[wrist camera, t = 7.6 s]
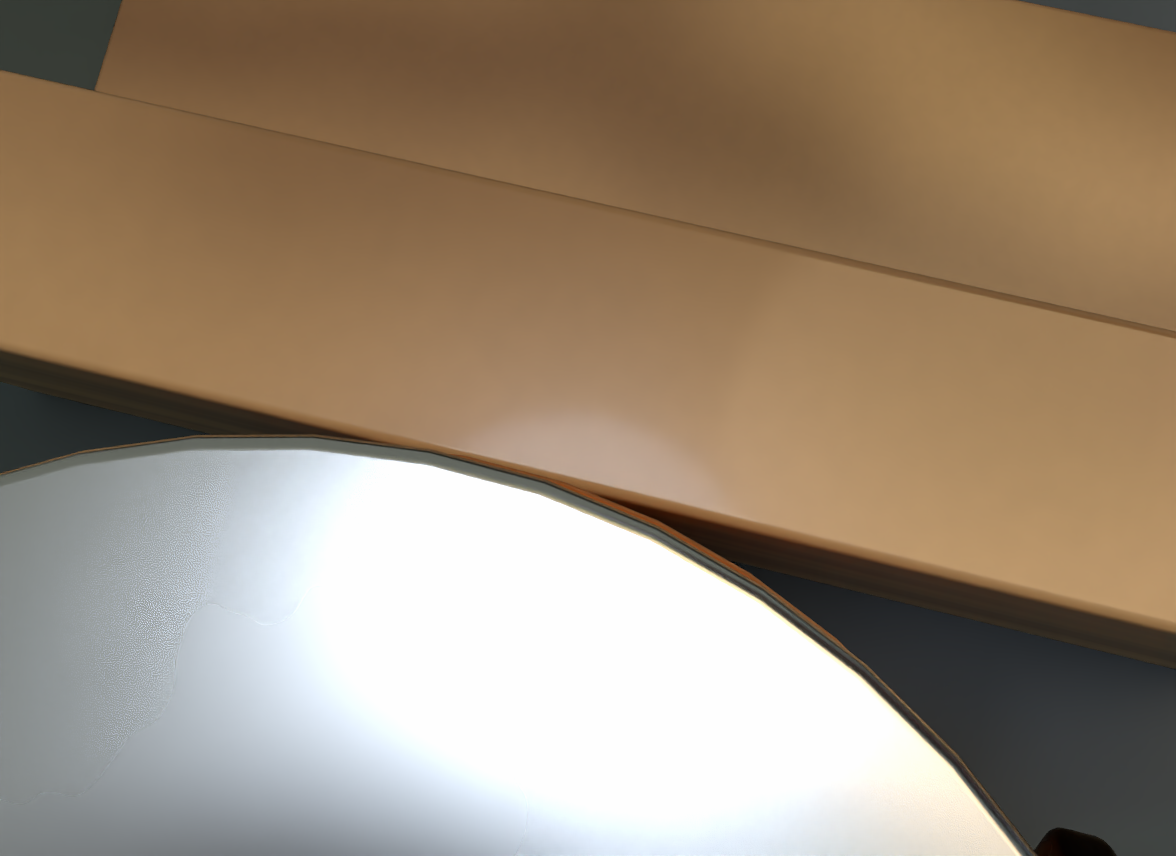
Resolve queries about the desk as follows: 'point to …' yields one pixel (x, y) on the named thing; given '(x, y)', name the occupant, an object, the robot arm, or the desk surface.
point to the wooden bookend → (651, 269)
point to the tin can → (425, 672)
